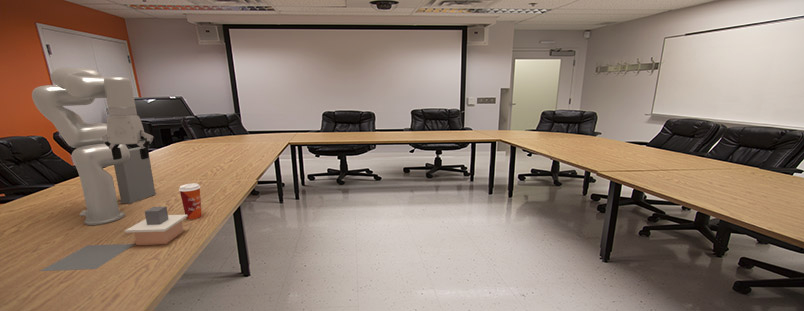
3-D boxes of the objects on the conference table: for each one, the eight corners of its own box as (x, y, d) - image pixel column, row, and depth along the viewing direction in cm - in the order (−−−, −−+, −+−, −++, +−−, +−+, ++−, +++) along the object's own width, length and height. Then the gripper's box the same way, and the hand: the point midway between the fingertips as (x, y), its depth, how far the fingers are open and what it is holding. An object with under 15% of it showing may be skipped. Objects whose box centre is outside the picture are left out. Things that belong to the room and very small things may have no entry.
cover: (125, 232, 109) (122, 216, 108) (152, 217, 122) (149, 202, 121) (165, 231, 110) (162, 215, 109) (187, 216, 122) (185, 202, 121)
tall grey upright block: (145, 194, 168) (137, 147, 162) (156, 194, 167) (148, 147, 162) (119, 203, 154) (109, 152, 149) (130, 204, 153) (121, 152, 148)
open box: (136, 246, 112) (133, 230, 111) (156, 233, 122) (153, 218, 120) (166, 245, 112) (163, 229, 111) (183, 232, 122) (181, 218, 121)
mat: (39, 272, 96) (39, 270, 96) (87, 246, 112) (87, 245, 112) (96, 270, 97) (95, 268, 97) (135, 245, 113) (135, 243, 113)
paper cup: (194, 221, 133) (189, 188, 130) (178, 219, 134) (173, 187, 132) (208, 214, 140) (204, 183, 138) (193, 212, 142) (189, 182, 139)
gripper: (88, 113, 111) (98, 161, 115) (140, 113, 113) (148, 160, 116) (106, 111, 119) (115, 157, 122) (155, 111, 120) (162, 156, 123)
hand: (131, 158), depth 119 cm, fingers open, 9 cm apart
